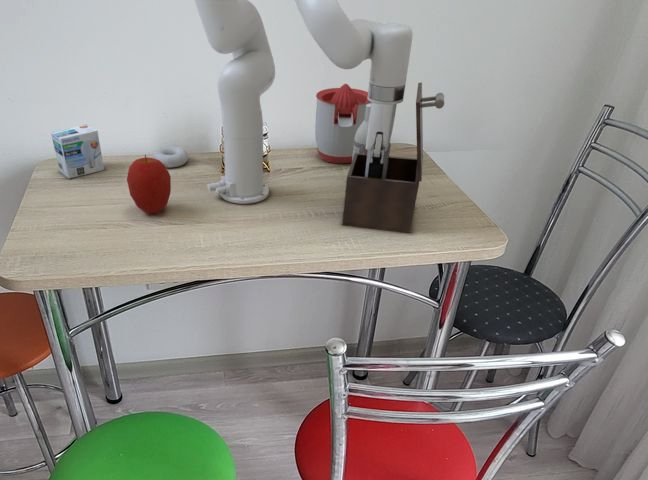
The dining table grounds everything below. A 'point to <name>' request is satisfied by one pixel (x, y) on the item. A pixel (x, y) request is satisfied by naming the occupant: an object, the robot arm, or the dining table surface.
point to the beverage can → (385, 161)
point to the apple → (149, 184)
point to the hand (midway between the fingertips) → (375, 174)
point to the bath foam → (362, 134)
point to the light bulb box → (78, 151)
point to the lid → (419, 123)
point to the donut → (171, 156)
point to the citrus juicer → (339, 122)
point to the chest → (381, 195)
